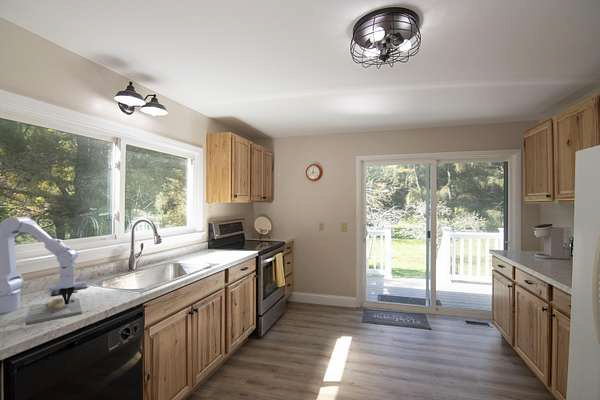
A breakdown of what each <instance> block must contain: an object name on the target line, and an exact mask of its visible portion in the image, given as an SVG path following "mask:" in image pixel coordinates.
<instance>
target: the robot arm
mask: <svg viewBox="0 0 600 400" xmlns="http://www.w3.org/2000/svg"><path fill="white" fill-rule="evenodd" d="M20 233H28V234H31V235H32V236H33V237H34V238H36V239H38V240H39V241H41V242H42V243H44V248H45V249H46V250H47V251H48V252H49V253H52V255H54V256H55V257H56V260H57V262H58V263H59V273H58V274H59V275H58V276H59V277H58V278H59V280H58V281H59V282H58V284H56V285H52V286H51V285H50V286H46V288H45V289H46V293H48V292H53V291H54V290H60V293H61V295H60V296H62V297H63V301H64V302H65V305H66V304H69V300H70V299H71V297H72V295H73V294H74V293H73V291H75V290H74V288H75V287H81V286H87V281H76V259H77V258H78V256H79V253H78V251H77V250H76V249H74V248H71V247H70V246H67V245H66V244H65V243H63V240H62V239H61V238H60V239H58V238H52V237H51V235H49V234H48V233H47V232H46V231H45V230H44V229H43V228H42V227H40V226H39V225H38V224H37V222H36V221H35V220H34V219H32V217H29V216H9V217H6V218H5V219H3V220H2V221H0V315H1V314H7V313H11V312H15V311H18V310H19V309H20V308H21V291H22V290H21V289H22V288H23V287H24V285H25V279H23V277H22V273H21V272H19V271H18V270H17V269H18V267H17V257H16V244H15V237H17V235H19V234H20Z"/></svg>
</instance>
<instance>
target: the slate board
mask: <svg viewBox="0 0 600 400" xmlns="http://www.w3.org/2000/svg"><path fill="white" fill-rule="evenodd" d="M48 303H49V300H47V301H46V303H41V304H37V305H30V306H29V308H28V312H27V317H26V319H25V326H26V327H27V326H32V325H37V324H41V323H42V324H43V323H47V322H51V321H55V320H61V319H66V318H72V317H75V316H77V317H78V316H80V315H82V313H83V310H82V307H81V306H82V305H81V303H80V298H79V297H76V298H75V296H71V297H70V300H69V304H66V305H65V302H64V300H63V308H59V309H53V310H48ZM66 309H70V311H69V312H63V313H58V314H54V315H52V312H56V311H61V310H66Z"/></svg>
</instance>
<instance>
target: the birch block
mask: <svg viewBox="0 0 600 400" xmlns="http://www.w3.org/2000/svg"><path fill="white" fill-rule="evenodd" d="M48 301H49V303H48V310H53V309H59V308H63V301H64V299H63V296H62V297H57V298H52V299H48Z"/></svg>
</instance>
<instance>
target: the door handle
mask: <svg viewBox="0 0 600 400" xmlns="http://www.w3.org/2000/svg"><path fill="white" fill-rule="evenodd" d="M86 289H88V285H86V286H81V287H75V288H74V291H73V293H72V294H76V293H78V291H79V290H86ZM51 292H52V293H51V294H50V297H58V296H62V295H61V293H60V290H54V291H51Z"/></svg>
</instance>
